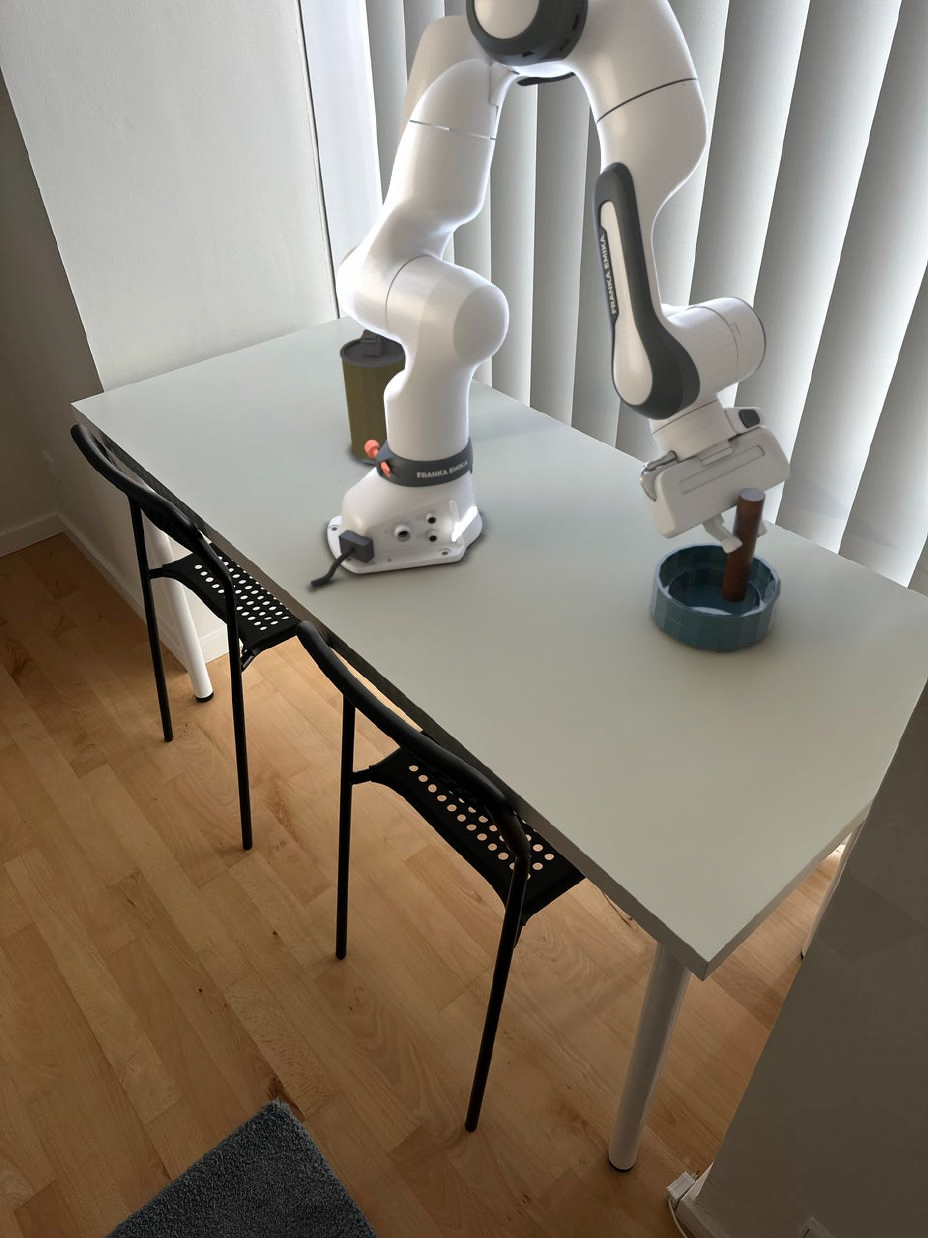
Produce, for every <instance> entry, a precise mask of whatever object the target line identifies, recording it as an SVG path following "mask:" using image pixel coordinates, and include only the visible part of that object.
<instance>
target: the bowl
mask: <svg viewBox="0 0 928 1238" xmlns="http://www.w3.org/2000/svg"><path fill="white" fill-rule="evenodd" d="M727 557H728V553H726V552H725V551H724V549H723V547H722V545H721V543H718V542H717V543H716V542H700V543H699V542H698V543H691V544H687V545H682V546H679V547H676V548H673V549H672V550H671V551H669V552H667V553H665V554H664V555H663V556H662V557H661V558H660V559H659V561H658V562H657V563H656V565H655V569H654V574H653V582H652V590H651V597H650V598H651V599H650V606H649V608H650V611H651V616H652V618H653V621H654V622H655V623H656V624H657V625H658V626H659V628H660V629H661V630H662V631H663V632H664V633H666V635H668V636H670V637H672V638H673V639H675V640H676V641H678V642H680V643H683V644H685V645H688V646H691V647H694V648H696V649H702V650H710V651H715V652H716V651H735V650H740V649H742V648H747V647H750V646H753V645H755V644H757V643H758V642H759V641H761V640H763V639H764V638H766V636H768V634H769V632H770V631H771V630H772V628H773V625H774V622H775V619H776V618H775V617H776V612H777V609H778V604H779V601H780V597H781V590H782V589H781V586H782V585H781V583H782V581H781V579H780V577H779V575H778V573H777V571H776V569H775V568H774V567H773V566H772V565H771V564H770V563H769V562H767V561H766V559H764V558H763V557H761V556H760V555H757V554H756V553H754V556H753V561H752V566H751V571H750V576H749V581H748V586H747V591H746V596H745V599H744V600H743V601H741V602H738V603H732V602H728V601H726V600H724V599H723V598H722V596H721V590H722V584H723V579H724V573H725V568H726V562H727Z"/></svg>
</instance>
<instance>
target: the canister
mask: <svg viewBox="0 0 928 1238" xmlns="http://www.w3.org/2000/svg"><path fill="white" fill-rule="evenodd" d="M339 357H340V359H341V364H342V365H341V366H342V372H343V381H344V390H345V399H346V406H347V415H348V422H349V423H348V424H349V432H350V440H351V447H350V448H351V449H350V450H351V455H352V456H353V457H354V459H356V460H357V461H360V462H361V463H364V464H367V465H373V466H376V463H375V458H371V457H369V455H368V453H367V452H366V451H365V444H367V442H368V441H370V440H375V441H376V442H377V443H378V444H379V446H380V447H381V448H382V447H383V445H384V444H385V442H386V440H387V438H388V437H387V427H386V416H385V405H384V392H385V389H386V387H387V385H388V384H389V382H390V381H391V380H392V379H393V378H394V377H395V376H396V375H397V374H398V373H400V372H402V371H403V370H405V365H406V354H405V351H404V348H403V346H402V344H400V343H399V342H396V341H394V340H392V339H389V338H387V337H384V336H382V335H380V334H377V333H375V332H372V331H370V330H368V329H367V328H365V329H363V331H362V334H361V336H360V337H359V338H356V339H352V340H350V341H348V342H346V343H345V344H343V345H342V347H341V348H340V349H339Z"/></svg>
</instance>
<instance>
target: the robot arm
mask: <svg viewBox="0 0 928 1238" xmlns="http://www.w3.org/2000/svg"><path fill="white" fill-rule="evenodd" d="M465 13H466V15H459V14H455V15H454V14H453V15H446V16H442V17H439V18H438V19H435V20H434V21H432V22H430V23H429V24H428V26H427V27H426V28H425V29H424V31H423V32H422V35H421V37H420V40H419V43H418V47H417V49H416V52H415V55H414V58H413V62H412V66H411V70H410V72H409V77H408V81H407V85H406V90H405V94H404V100H403V106H402V111H401V117H400V118H401V119H400V123H399V131H398V136H397V137H398V138H397V143H396V149H395V155H394V161H393V167H392V172H391V177H390V184H389V188H388V191H387V195H386V198H385V200H384V203H383V206H382V208H381V210H380V212H379V215H378V217H377V220H376V221H375V223H374V225H373V227H372V228H371V229H370V231H369V233H368V235H367V236H366V237H364V239H363V240H362V241H361V242H360V243H359V244H358V245H356V246H354V247H353V248H352V249H350V251H349V252H347V254H346V255H345V256H344V258H343V259H342V261H341V263H340V265H339V268H338V270H337V274H336V280H335V293H336V297H337V300H338V303H339V304H340V306H341V308H342V310H343V311H345V313H346V314H348V315H349V316H350V317H351V318H352V319H354V320H355V321H356V322H357V323H359V324H360V325H361V326H362V327H364V328H365V329H368V330H370V331H372V332H375V333H377V334H380V335H382V336H384V337H387V338H389V339H392V340H394V341H396V342H399V343H400V344H402V346H403V348H404V351H405V354H406V365H405V370H403V371H402V372H400V373H398V374H397V375H396V376H395V377H394V378H393V379H392V380H391V381H390V382H389V384H388V385H387V387H386V389H385V392H384V405H385V416H386V427H387V437H388V438H387V440H386V442H385V444H384V445H383V447H382V448H381V447H380V446H379V444H378V443H377V442H376V441H375V440H370V441H368V442H367V444H365V451H366V452H367V453H368V455H369V457H371V458H375V463H376V465H375V467H374V468H373V469H372V470H371V471H369V472H368V473H367V474H366V475H365V476H363V477H362V478H361V479H360V480H359V481H358V482H356V483H355V484H354V485H353V486H352V487H351V488H349V490H347V491H346V492H345V494H344V496H343V499H342V504H341V510H340V515H337V516H335V517H333V518H331V519H330V520H329V523H328V525H327V532H326V533H327V534H326V535H327V542H328V546H329V548H330V551H331V552H332V555H333V556H334V558H335V560H334V561H333V563H332V564H331V566H329V567H330V568H329V570H328V571H327V573H325V574H324V575H322V577H319V578H316V579H313V580H310V585H311V587H312V588H315V587H318V586H320V585H323V584H325V583H327V582H329V581H330V580H331V579H332V578H333V577H334V576H335V573H336V571H337V569H338V568H339V566H342V567H343V568H345V569H346V570H348V571H349V572H353V573H354V574H369V573H378V572H384V571H385V572H386V571H393V570H401V569H408V568H417V567H426V566H432V565H439V564H448V563H449V564H450V563H455V562H458V561H461V560H462V559H463V557H464V555H465V552H466V549H467V548H468V547H469V546H470V545H471V544H472V543H474V542H475V541H476V539H477V538H478V537H479V536H480V535H481V532H482V530H483V519H482V517H481V515H480V514H481V513H480V511H479V509H478V506H477V501H476V497H475V492H474V488H473V482H472V481H473V480H472V474H473V466H474V465H473V464H474V449H473V444H472V443H473V442H472V438H471V435H469V392H470V385H471V383H472V379H473V376H474V374H475V372H476V370H477V369H478V367H479V366H480V365H482V364H483V363H485V362H487V361H488V360H489V359H490V358H492V357H493V356H494V355H495V354H496V353H497V351H499V349H500V348H501V346H502V344H503V343H504V340H505V338H506V336H507V333H508V329H509V322H510V310H509V304H508V301H507V298H506V296H505V294H504V293H503V291H502V290H501V289H500V288H499V287H498V286H496V285H495V284H493V283H492V282H491V281H489V279H486V278H485V277H483V276H482V275H480V274H479V273H477V272H476V271H474V270H472V269H469V268H466V267H463V266H461V265H457V264H454V263H451V262H449V261H446V260H443V256H444V253H445V250H446V247H447V245H448V242H449V240H450V238H451V237H452V236H453V234H454V232H455V231H456V230H457V229H458V228H459V227H460V226H462V225H464V224H466V223H468V222H471V221H472V220H473V219H475V218H476V217H477V216H478V215H479V213H481V211H482V208H483V206H484V203H485V198H486V193H487V187H488V181H489V176H490V171H491V167H492V161H493V155H494V150H495V145H496V140H495V139H497V133H498V127H499V124H500V123H499V122H500V116H501V112H502V108H503V105H504V102H505V99H506V96H507V95H508V92H509V91H510V90H511V88H512V87H513V86H514V85H515V84H517V85H518V86H520V87H530V86H535V85H540V84H547V83H555V82H560V81H564V80H568V79H570V78H572V77H575V76H577V77H578V79H579V80H580V82H581V84H582V86H583V88H584V91H585V92H586V95H587V98H588V101H589V105H590V108H591V112H592V116H593V119H594V123H595V125H596V129H597V133H598V137H599V144H600V155H601V156H600V157H601V161H600V163H601V164H600V172H599V173H600V174H599V175H598V176H597V178H596V180H595V183H594V185H593V189H592V196H591V197H592V198H591V199H592V201H591V203H592V219H593V228H594V234H595V235H594V236H595V242H596V250H597V255H598V261H599V268H600V274H601V279H602V280H601V281H602V287H603V293H604V300H605V307H606V312H607V313H606V314H607V319H608V325H609V326H608V327H609V332H610V334H609V335H610V373H611V381H612V384H613V387H614V390H615V392H616V394H617V396H618V397H619V399H620V400H621V401H622V402H623V403H624V405H626V406H627V407H628V408H629V409H630V410H632V411H633V412H635V413H636V414H638V415H641V416H643V417H644V418H646V419H648V420H647V421H648V423H649V429H650V434H651V435H652V437H653V440H654V441H655V444H656V445H657V448H658V449H659V452H660V453H661V455H660V456H658V457H657V458H655V459H653V460H649V461H647V462H645V463H644V464H643V466H642V469H641V470H640V473H639V477H638V482H639V484H640V486H641V488H642V490H643V493H644V495H645V499H646V503H647V507H648V509H649V512H650V515H651V517H652V520H653V523H654V525H655V527H656V530H657V532H658V533H659V535H661V536H662V537H664V538H666V539H667V540H670V539H673V538H675V537H677V536H681V534H684V533H686V532H688V531H690V530H692V529H694V528H696V527H697V526H699V525H701V524H702V526H703V528H704V531H705V532H706V533H707V534H709V535H710V536H711V537H713V538H714V539H715V540H717V541H719V544H721V545H722V547H723V549H724V551H725V552H726V553H730V552H732V551H734V550H736V549H738V548H740V547H742V541H741V540H740V537H739V536H738V534H737V533H735V534H732V532H731V531H729V529H727V528H726V527H725V526H724V525H723V524H725V522H726V521H725V520H724V517H723V516H722V514H724V513H725V512H727V511H729V510H731V509H732V508H736V507H737V502H738V496H739V492H740V491H741V490H742V489H744V488H757V489H759V490H761V491H763V492H764V493H765V492H766V491H769V489H772V488H774V487H776V486H778V485H780V484H782V483H784V482H786V481H788V480H789V479H790V478H791V465H790V463H789V460H788V457H787V456H786V454H785V452H784V449H783V448H782V446H781V444H780V442H779V440H778V439H777V437H776V435H775V433H773V431H772V430H771V429H770V428H768V427H767V426H763V425H764V424H765V423H766V416H765V414H764V412H763V410H762V409H761V408H760V407H757V406H756V407H755V406H752V407H751V406H750V407H737V406H736V407H733V406H726V407H725V406H724V404H723V402H722V399H721V398H720V396H719V395H718V393H720V392H722V391H724V390H725V389H727V388H730V387H732V386H734V385H735V384H738V383H740V382H742V381H744V380H746V379H747V378H748V377H750V376H751V375H752V374H753V373H755V372H756V371H757V370H758V369H759V368H760V366H761V365H762V363H763V361H764V358H765V355H766V350H767V334H766V329H765V325H764V323H763V321H762V319H761V317H760V316H759V314H758V312H757V311H756V309H755V308H753V306H752V305H750V303H748V302H747V301H745V300H743V299H741V298H739V297H736V296H727V297H720V298H715V299H711V300H708V301H704V302H701V303H697V304H692V305H685V306H683V305H682V306H673V305H670V304H668V303H662V299H661V293H660V286H659V278H658V272H657V265H656V259H655V252H654V246H653V233H654V226H655V222H656V219H657V217H658V214H659V213H660V211H661V209H662V208H663V207H664V205H665V204H666V203H667V201H668V200H669V199H670V198H671V197H672V196H673V195H674V194H675V193H676V192H677V191H678V190H680V189H681V187H683V185H684V184H686V182H687V181H688V180H689V179H690V178H691V177H692V175H693V173H694V172H695V171H696V169H697V168H698V166H699V164H700V162H701V161H702V158H703V156H704V154H705V151H706V149H707V144H708V141H709V126H708V125H709V124H708V115H707V110H706V105H705V101H704V97H703V93H702V90H701V87H700V82H699V78H698V75H697V71H696V68H695V64H694V62H693V58H692V55H691V52H690V49H689V47H688V44H687V41H686V39H685V36H684V33H683V30H682V29H681V26H680V24H679V22H678V19H677V17H676V15H675V13H674V11H673V9H672V7H671V4H670V2H669V1H668V0H465ZM408 120H409V121H408ZM449 129H450V130H449ZM459 131H460V132H459ZM463 132H464V133H463ZM472 134H474V135H472ZM490 138H492V139H490ZM767 532H768V530H767V527H766V525H765V524H764V521H763V516H762V517H761V522H760V527H759V532H758V537H757V539H758V538H761V537H762V536H764V535H766V534H767Z"/></svg>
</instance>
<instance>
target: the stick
mask: <svg viewBox="0 0 928 1238" xmlns="http://www.w3.org/2000/svg"><path fill="white" fill-rule="evenodd" d="M765 502H766V493H765V491H764V492H763V491H761V490H759V489H757V488H744V489H742V490H741V491H740V492H739V496H738V502H737V506H735V512H734V518H733V523H732V524H733V525H732V531H731V533H732V534H735V533H737V534H738V536H739V537H740V540H741V541H742V547H740V548H738V549H736V550H734V551H732V552H730V553H728V557H727V562H726V568H725V573H724V579H723V584H722V590H721V596H722V598H723V599H724V600H726V601H728V602H732V603H738V602H741V601H743V600H744V599H745V596H746V591H747V586H748V581H749V576H750V571H751V566H752V561H753V556H754V554H755V551H756V546H757V542H758V538H759V537H758V532H759V527H760V522H761V517H762V518H763V511H764V507H765ZM757 537H758V538H757Z"/></svg>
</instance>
